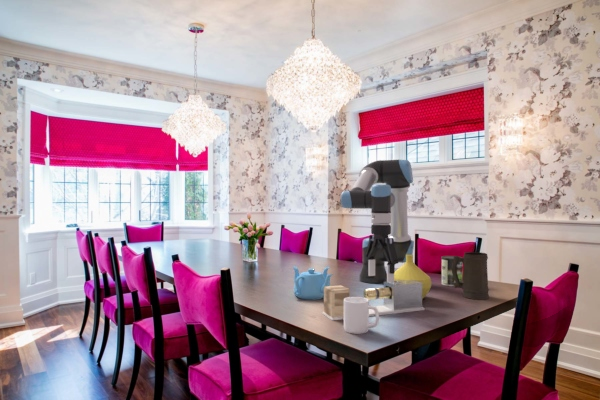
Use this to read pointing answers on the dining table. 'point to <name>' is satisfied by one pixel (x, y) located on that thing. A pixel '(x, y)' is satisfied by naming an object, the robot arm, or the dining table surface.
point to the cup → (358, 315)
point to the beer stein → (472, 275)
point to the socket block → (335, 300)
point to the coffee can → (450, 271)
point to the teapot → (311, 284)
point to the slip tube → (378, 293)
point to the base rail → (381, 310)
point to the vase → (413, 275)
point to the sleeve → (404, 295)
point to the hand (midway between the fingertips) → (380, 278)
